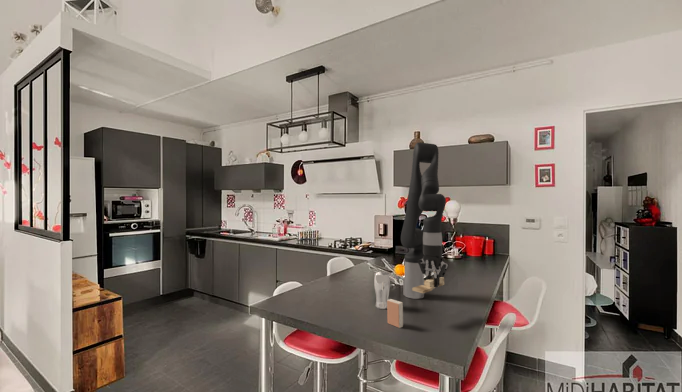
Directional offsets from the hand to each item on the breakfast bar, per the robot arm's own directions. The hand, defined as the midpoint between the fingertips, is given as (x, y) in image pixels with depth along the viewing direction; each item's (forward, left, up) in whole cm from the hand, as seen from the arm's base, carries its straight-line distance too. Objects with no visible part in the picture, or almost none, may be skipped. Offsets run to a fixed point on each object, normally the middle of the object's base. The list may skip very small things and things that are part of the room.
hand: (432, 285), depth 125 cm
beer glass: (-23, -6, -13) cm, 27 cm away
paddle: (0, -2, 0) cm, 2 cm away
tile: (-6, -17, -13) cm, 22 cm away
